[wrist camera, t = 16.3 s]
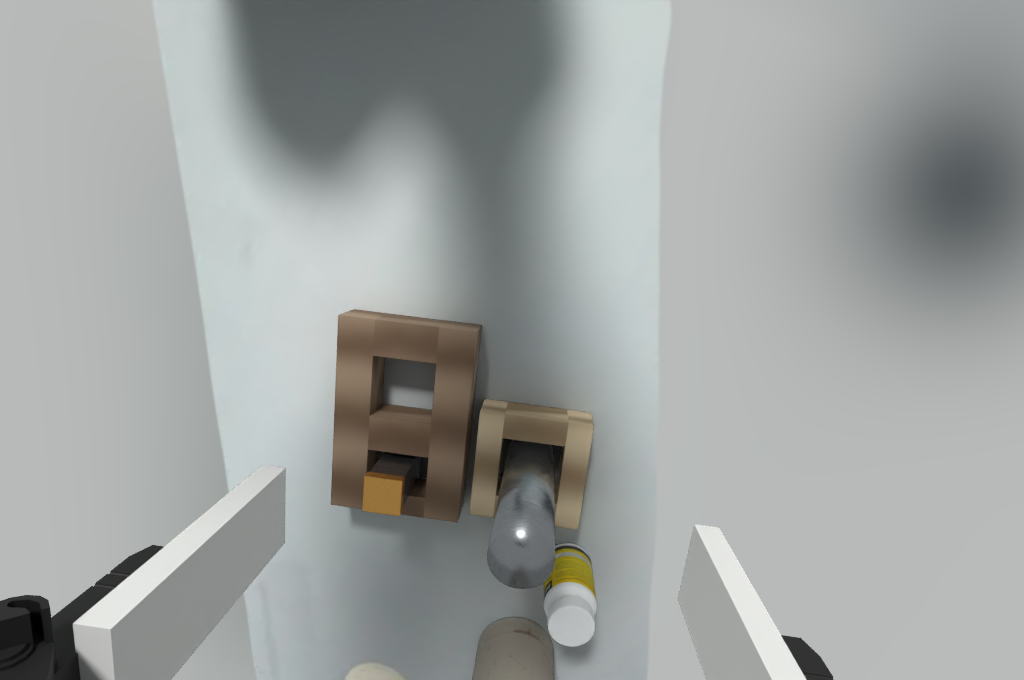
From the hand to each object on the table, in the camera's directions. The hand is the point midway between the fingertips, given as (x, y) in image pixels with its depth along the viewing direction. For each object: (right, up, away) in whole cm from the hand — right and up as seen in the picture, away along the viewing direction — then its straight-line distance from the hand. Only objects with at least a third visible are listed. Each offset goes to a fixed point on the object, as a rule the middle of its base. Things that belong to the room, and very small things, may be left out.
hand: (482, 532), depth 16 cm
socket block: (-9, -1, +32) cm, 33 cm away
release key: (-9, -6, +32) cm, 34 cm away
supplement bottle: (+7, -16, +34) cm, 38 cm away
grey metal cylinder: (+3, -5, +32) cm, 32 cm away
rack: (+3, -5, +32) cm, 32 cm away
